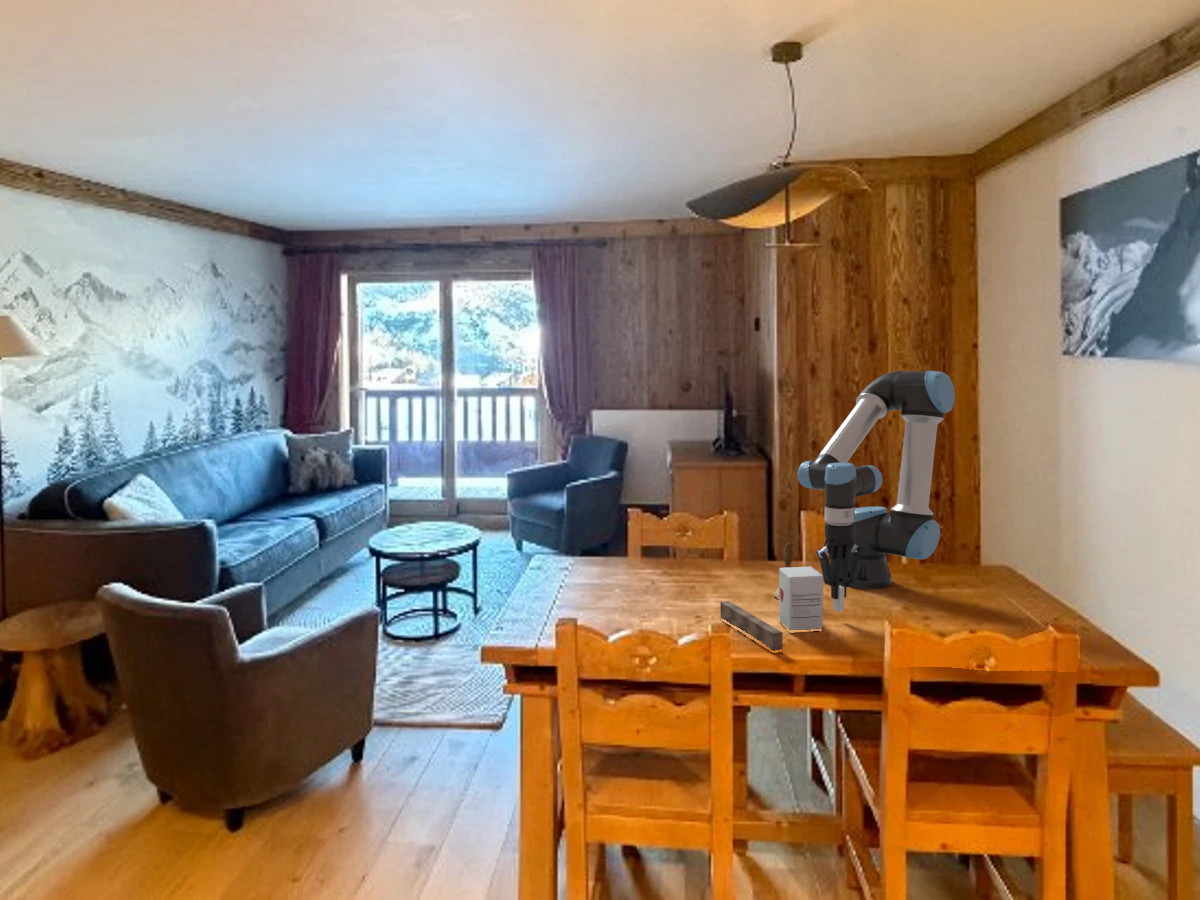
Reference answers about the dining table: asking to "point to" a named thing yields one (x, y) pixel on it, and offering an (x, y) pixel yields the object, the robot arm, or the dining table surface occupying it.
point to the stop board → (752, 625)
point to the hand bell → (786, 561)
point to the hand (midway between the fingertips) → (838, 609)
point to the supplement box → (801, 598)
